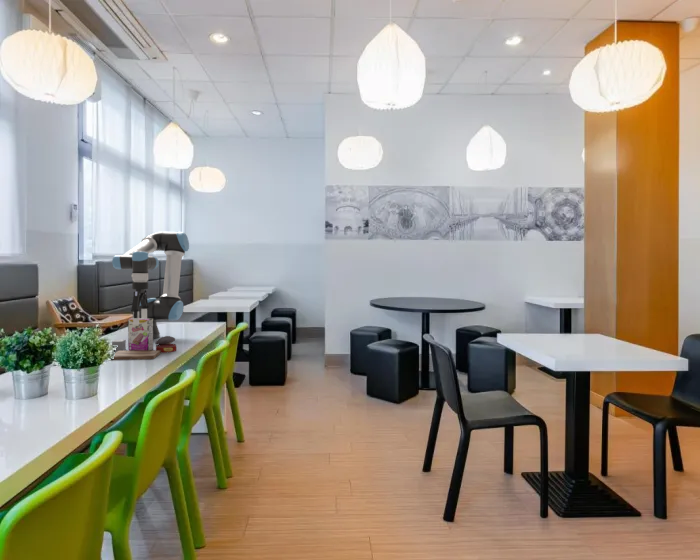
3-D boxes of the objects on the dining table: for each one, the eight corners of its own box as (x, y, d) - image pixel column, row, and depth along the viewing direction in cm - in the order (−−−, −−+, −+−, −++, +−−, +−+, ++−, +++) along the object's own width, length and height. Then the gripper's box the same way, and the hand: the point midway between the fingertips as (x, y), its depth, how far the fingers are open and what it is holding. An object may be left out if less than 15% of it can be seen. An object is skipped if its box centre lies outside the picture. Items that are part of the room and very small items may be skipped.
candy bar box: (127, 350, 241) (127, 319, 241) (133, 348, 246) (132, 317, 246) (148, 351, 240) (148, 319, 240) (153, 349, 245) (153, 318, 244)
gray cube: (115, 349, 245) (115, 339, 245) (125, 349, 246) (125, 339, 245) (112, 351, 240) (112, 341, 240) (122, 351, 241) (122, 341, 241)
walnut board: (119, 353, 234) (119, 350, 234) (160, 353, 237) (160, 350, 237) (108, 359, 221) (108, 356, 220) (153, 359, 223) (153, 356, 223)
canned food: (157, 361, 239) (147, 344, 238) (165, 355, 249) (155, 338, 248) (176, 351, 238) (166, 334, 237) (183, 346, 248) (174, 329, 247)
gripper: (140, 280, 253) (140, 319, 254) (124, 282, 229) (124, 326, 229) (154, 280, 254) (154, 319, 255) (140, 282, 230) (140, 325, 230)
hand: (140, 322), depth 242 cm, fingers open, 13 cm apart
